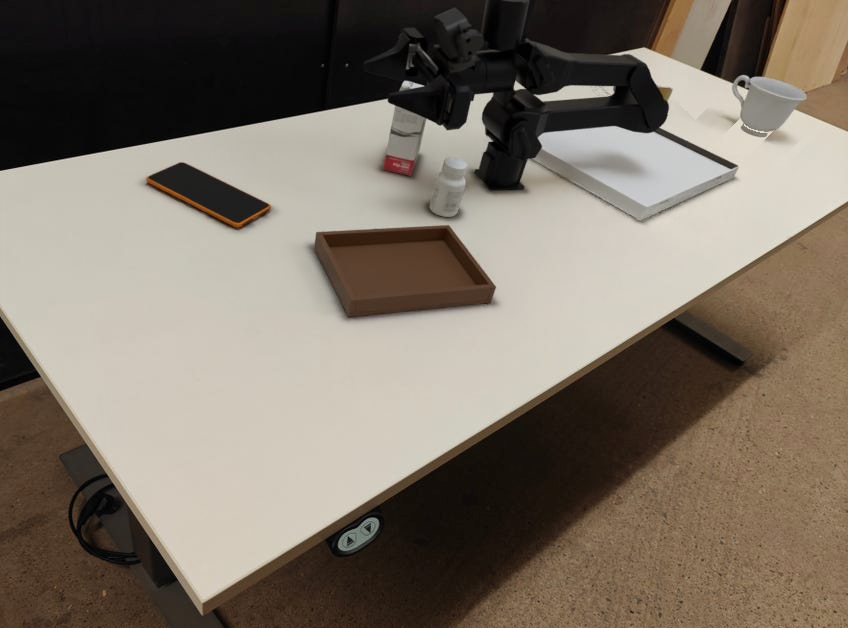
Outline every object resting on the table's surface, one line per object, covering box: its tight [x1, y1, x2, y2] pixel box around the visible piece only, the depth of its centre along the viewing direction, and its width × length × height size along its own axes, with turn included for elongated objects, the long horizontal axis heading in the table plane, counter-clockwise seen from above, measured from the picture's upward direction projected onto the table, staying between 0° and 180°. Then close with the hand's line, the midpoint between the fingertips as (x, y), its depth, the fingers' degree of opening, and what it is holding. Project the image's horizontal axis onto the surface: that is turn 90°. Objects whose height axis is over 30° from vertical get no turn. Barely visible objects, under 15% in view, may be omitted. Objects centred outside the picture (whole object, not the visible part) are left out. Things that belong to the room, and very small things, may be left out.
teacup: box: [731, 74, 808, 138], centre depth 148 cm, size 12×15×10 cm
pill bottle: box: [429, 157, 468, 218], centre depth 99 cm, size 4×4×8 cm
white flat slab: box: [530, 126, 740, 221], centre depth 126 cm, size 35×2×31 cm
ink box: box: [382, 80, 427, 177], centre depth 107 cm, size 9×5×12 cm, turn 168°
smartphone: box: [145, 161, 272, 228], centre depth 93 cm, size 8×17×1 cm, turn 58°
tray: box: [313, 224, 497, 318], centre depth 86 cm, size 19×14×2 cm
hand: (375, 82), depth 91 cm, fingers open, 9 cm apart
